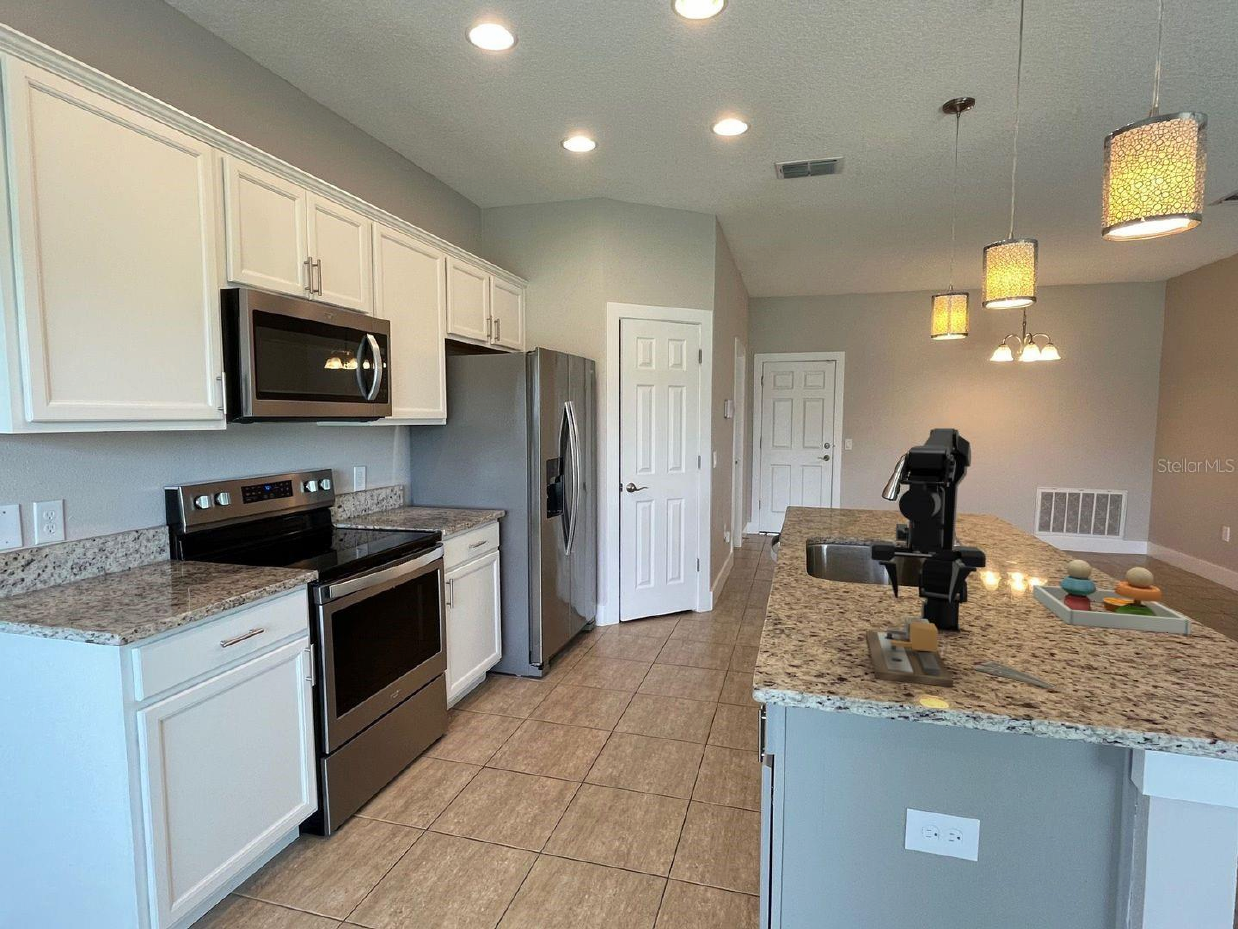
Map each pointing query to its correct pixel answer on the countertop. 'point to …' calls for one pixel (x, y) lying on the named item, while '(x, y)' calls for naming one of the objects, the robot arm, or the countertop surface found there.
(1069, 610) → the parts tray
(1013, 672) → the grey tweezers
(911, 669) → the board
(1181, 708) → the countertop surface
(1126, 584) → the colourful wooden stacking toy
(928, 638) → the orange block with tab
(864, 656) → the countertop surface
